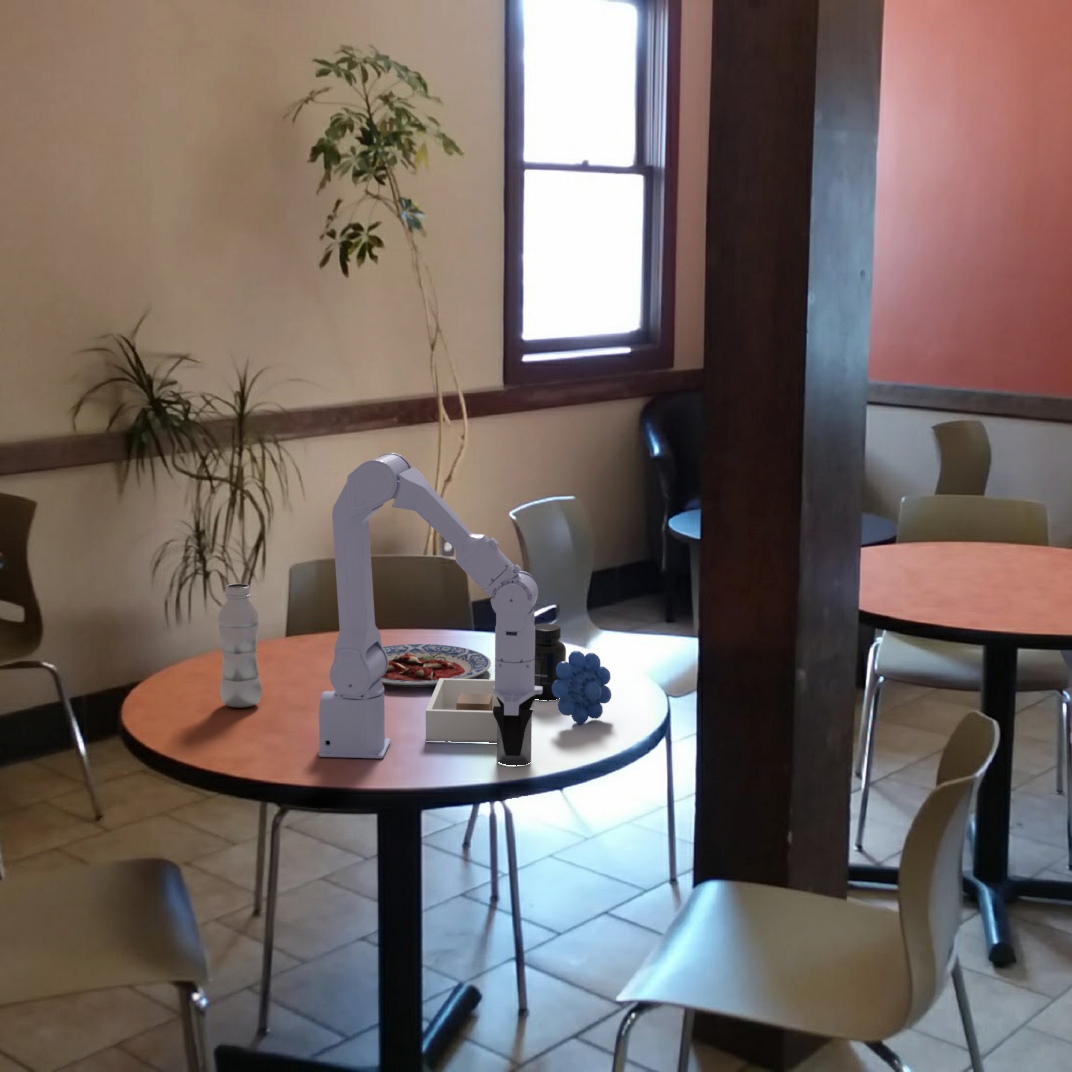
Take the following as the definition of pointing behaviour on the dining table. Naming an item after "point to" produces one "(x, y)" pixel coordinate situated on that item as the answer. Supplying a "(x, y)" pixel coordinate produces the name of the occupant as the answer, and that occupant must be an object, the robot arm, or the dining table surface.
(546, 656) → the supplement bottle
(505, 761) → the grey metal cylinder
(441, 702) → the box
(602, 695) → the blue knobbed flower shape
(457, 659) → the ceramic plate
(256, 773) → the dining table surface
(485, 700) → the walnut cube
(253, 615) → the plastic bottle
